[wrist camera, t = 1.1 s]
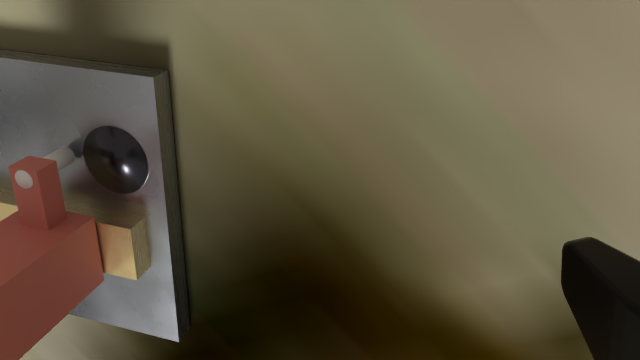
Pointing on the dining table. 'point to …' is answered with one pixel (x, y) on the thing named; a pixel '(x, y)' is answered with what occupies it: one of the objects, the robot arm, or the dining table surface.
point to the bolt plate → (106, 176)
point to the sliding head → (43, 255)
